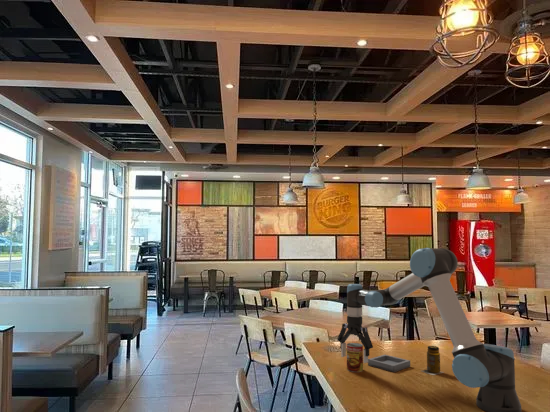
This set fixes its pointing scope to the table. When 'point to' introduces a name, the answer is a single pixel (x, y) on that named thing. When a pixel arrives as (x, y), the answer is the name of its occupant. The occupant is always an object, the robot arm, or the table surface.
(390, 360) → the holder
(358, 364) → the canned food
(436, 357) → the condiment
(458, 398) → the table surface
